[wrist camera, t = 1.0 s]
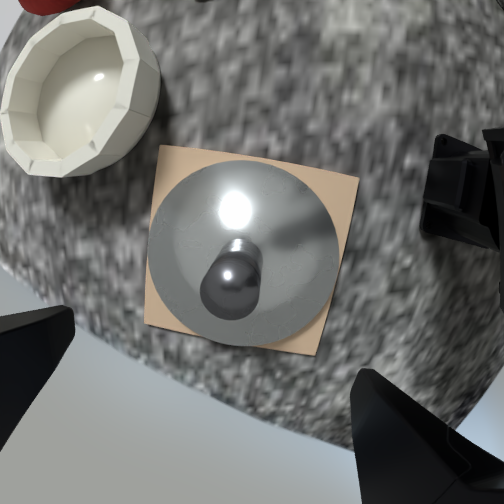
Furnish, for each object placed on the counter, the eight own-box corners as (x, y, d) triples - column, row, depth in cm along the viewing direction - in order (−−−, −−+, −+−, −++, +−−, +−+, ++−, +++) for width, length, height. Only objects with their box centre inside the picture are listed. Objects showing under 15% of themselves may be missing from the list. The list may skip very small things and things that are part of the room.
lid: (354, 181, 18) (388, 187, 12) (312, 351, 21) (322, 408, 15) (163, 149, 18) (119, 143, 12) (147, 320, 21) (112, 366, 15)
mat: (357, 177, 18) (359, 178, 18) (314, 352, 21) (314, 355, 21) (162, 144, 18) (160, 144, 18) (146, 320, 21) (144, 323, 21)
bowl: (176, 25, 16) (157, -2, 12) (146, 180, 19) (117, 183, 15) (53, 38, 16) (22, 24, 12) (28, 168, 19) (-7, 171, 15)
